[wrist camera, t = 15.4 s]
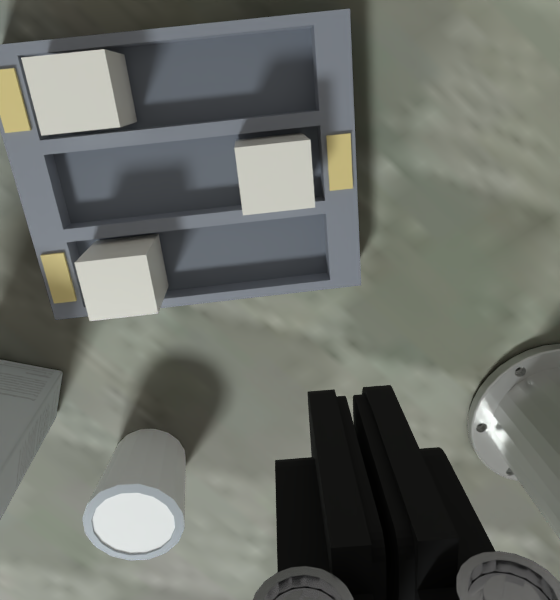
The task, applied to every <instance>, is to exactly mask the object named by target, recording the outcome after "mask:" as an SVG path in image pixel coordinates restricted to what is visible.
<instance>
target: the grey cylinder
mask: <svg viewBox="0 0 560 600" xmlns="http://www.w3.org/2000/svg"><path fill="white" fill-rule="evenodd" d="M185 479H186V457H185V450H184V448H183V447H182V445H181V443H180V442H179V440H178V439H176V438H175V437H173V436H172V435H171V434H169V433H168V432H164V431H161V430H157V429H140V430H137V431H135V432H132V433H130V434H127V435H126V436H125V437H124V438H123V439H122V440H121V441H120V442H119V444H118V445H117V447H116V449H115V451H114V453H113V455H112V457H111V459H110V461H109V463H108V465H107V467H106V469H105V471H104V473H103V475H102V477H101V478H100V480H99V482H98V484H97V486H96V488H95V490H94V492H93V494H92V496H91V498H90V500H89V502H88V504H87V507H86V509H85V512H84V515H83V518H82V519H83V525H84V530H85V534H86V535H87V536H88V538H89V539H90V540H91V542H92V543H93V544H94V546H95V547H97V548H99V549H100V550H102V551H104V552H105V553H107V554H109V555H110V556H113V557H118V558H122V559H126V560H145V559H151V558H154V557H156V556H159V555H162V554H164V553H166V552H168V551H169V550H170V549H171V548H172V547H173V546H175V545H176V544H177V543H178V542H179V540H180V537H181V535H182V533H183V531H184V527H185Z"/></svg>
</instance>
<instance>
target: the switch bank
mask: <svg viewBox="0 0 560 600" xmlns="http://www.w3.org/2000/svg"><path fill="white" fill-rule="evenodd" d="M101 49H106V50H109V51H113V52H117V53H120V54H124V55H125V61H126V66H127V71H128V76H129V81H130V87H131V92H132V97H133V102H134V107H135V113H136V118H137V122H135V123H132V124H129V125H126V126H123V127H118V128H109V129H99V130H90V131H80V132H71V133H62V134H52V135H43V136H41V132H40V128H39V125H38V121H37V117H36V113H35V109H34V105H33V102H32V98H31V94H30V90H29V86H28V82H27V79H26V75H25V71H24V67H23V63H22V59H21V58H23V57H33V56H43V55H52V54H62V53H72V52H81V51H91V50H101ZM0 131H1V134H2V138H3V141H4V144H5V148H6V151H7V155H8V158H9V162H10V165H11V169H12V172H13V176H14V179H15V183H16V186H17V189H18V193H19V196H20V200H21V203H22V207H23V210H24V214H25V217H26V221H27V224H28V228H29V231H30V234H31V238H32V241H33V245H34V248H35V252H36V255H37V259H38V262H39V266H40V269H41V272H42V276H43V279H44V283H45V286H46V290H47V293H48V297H49V300H50V304H51V307H52V311H53V314H54V317H55V320H59V319H68V318H77V317H86V316H88V313H87V309H86V305H85V302H84V298H83V294H82V290H81V286H80V282H79V279H78V275H77V271H76V267H75V262H76V261H77V260H78V258H79V257H80V256H81V255H82V254H83V253H84V252H85V251H86V250H87V249H88V248H89V247H90V246H91V245H92V244H93V243H94V242H95V241H98V240H107V239H116V238H125V237H134V236H143V235H152V234H159V239H160V244H161V249H162V254H163V260H164V265H165V270H166V275H167V281H168V286H169V287H168V289H167V292H166V294H165V297H164V300H163V302H162V305H161V307H160V308H165V307H174V306H182V305H191V304H200V303H209V302H218V301H226V300H235V299H244V298H253V297H262V296H270V295H279V294H288V293H297V292H306V291H314V290H323V289H332V288H341V287H349V286H358V285H361V269H360V244H359V220H358V195H357V170H356V145H355V121H354V96H353V71H352V46H351V21H350V9H341V10H331V11H321V12H312V13H302V14H292V15H282V16H273V17H263V18H253V19H244V20H234V21H224V22H214V23H205V24H195V25H185V26H175V27H166V28H156V29H146V30H136V31H127V32H117V33H107V34H98V35H88V36H78V37H68V38H59V39H49V40H39V41H29V42H20V43H10V44H0ZM295 133H303V134H304V135H305V136H306V137H308V138H309V139H310V141H311V155H312V169H313V183H314V197H315V208H306V209H297V210H288V211H279V212H270V213H261V214H252V215H243V212H242V204H241V196H240V188H239V181H238V173H237V165H236V157H235V149H234V147H235V141H236V140H239V139H248V138H258V137H267V136H276V135H286V134H295Z"/></svg>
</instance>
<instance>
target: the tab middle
mask: <svg viewBox="0 0 560 600" xmlns="http://www.w3.org/2000/svg"><path fill="white" fill-rule="evenodd" d="M234 149H235V157H236V165H237V173H238V181H239V188H240V196H241V204H242V212H243V215H252V214H261V213H270V212H279V211H288V210H297V209H306V208H315V197H314V183H313V169H312V155H311V141H310V139H309V138H308V137H306V136H305V135H304V134H303V133H295V134H286V135H276V136H267V137H258V138H248V139H239V140H236V141H235V147H234Z"/></svg>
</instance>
